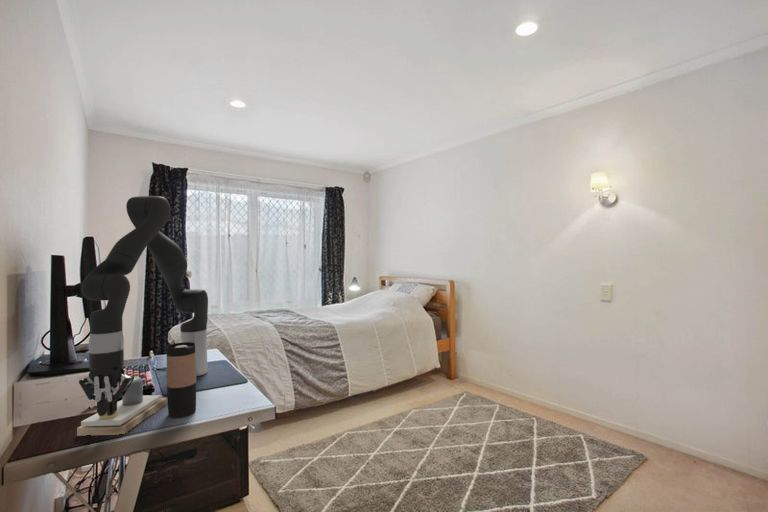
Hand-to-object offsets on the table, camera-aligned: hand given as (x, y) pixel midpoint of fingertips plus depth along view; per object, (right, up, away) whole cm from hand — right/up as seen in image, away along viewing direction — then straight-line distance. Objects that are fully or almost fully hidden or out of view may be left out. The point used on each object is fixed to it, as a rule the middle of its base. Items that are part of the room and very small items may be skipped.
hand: (106, 414), depth 100 cm
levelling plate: (0, -2, +7) cm, 7 cm away
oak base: (0, -4, +8) cm, 9 cm away
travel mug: (+14, -4, +11) cm, 18 cm away
